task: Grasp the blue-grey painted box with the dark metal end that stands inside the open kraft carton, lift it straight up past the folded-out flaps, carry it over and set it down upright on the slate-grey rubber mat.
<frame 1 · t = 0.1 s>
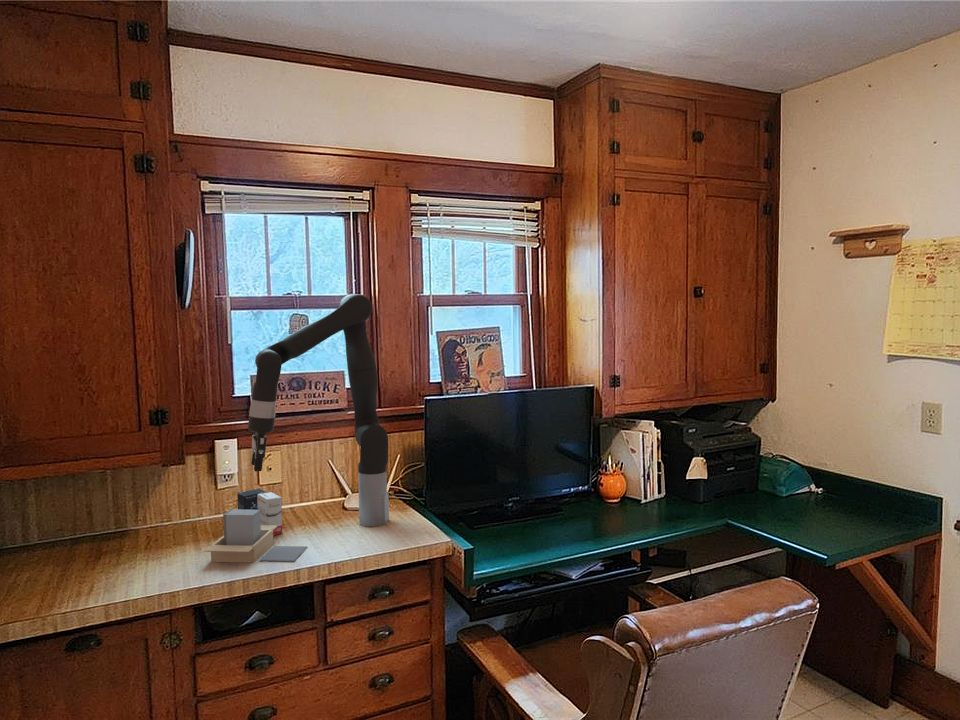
hand: (256, 467, 200), 22 cm above the worktop, tool pointing down, fingers open, 8 cm apart
carton: (243, 552, 192), on the worktop
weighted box: (242, 532, 191), in the carton
ink box: (270, 532, 210), on the worktop
mat: (284, 554, 190), on the worktop
box: (252, 523, 218), on the worktop
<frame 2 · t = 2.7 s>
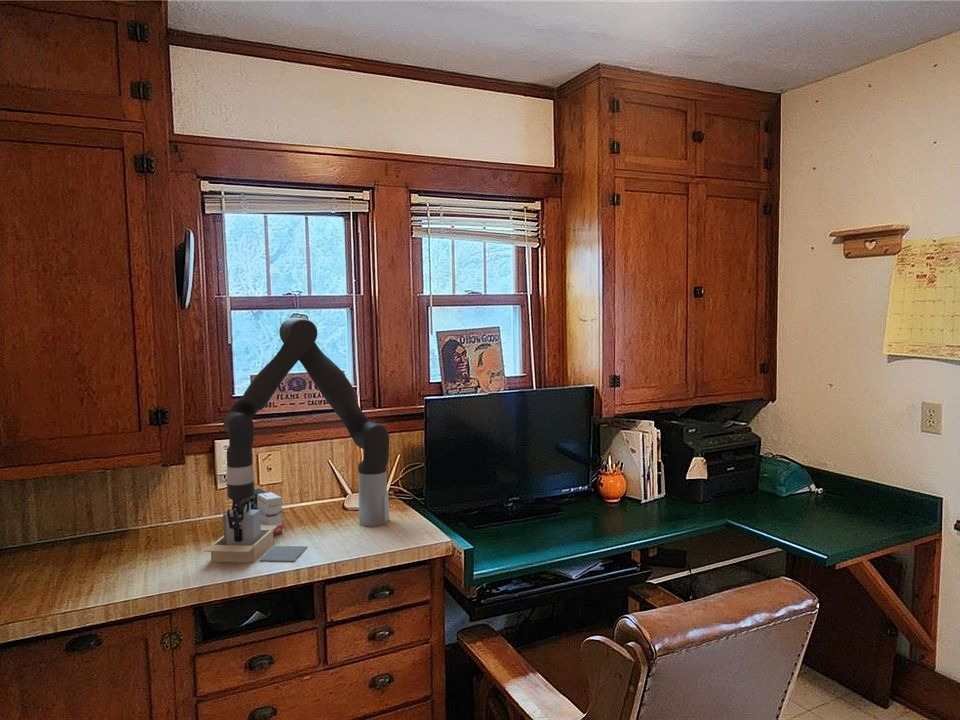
hand: (242, 537, 191), 4 cm above the worktop, tool pointing down, fingers closed on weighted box, 5 cm apart
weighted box: (242, 532, 191), in the carton, touching gripper
everything else where it was.
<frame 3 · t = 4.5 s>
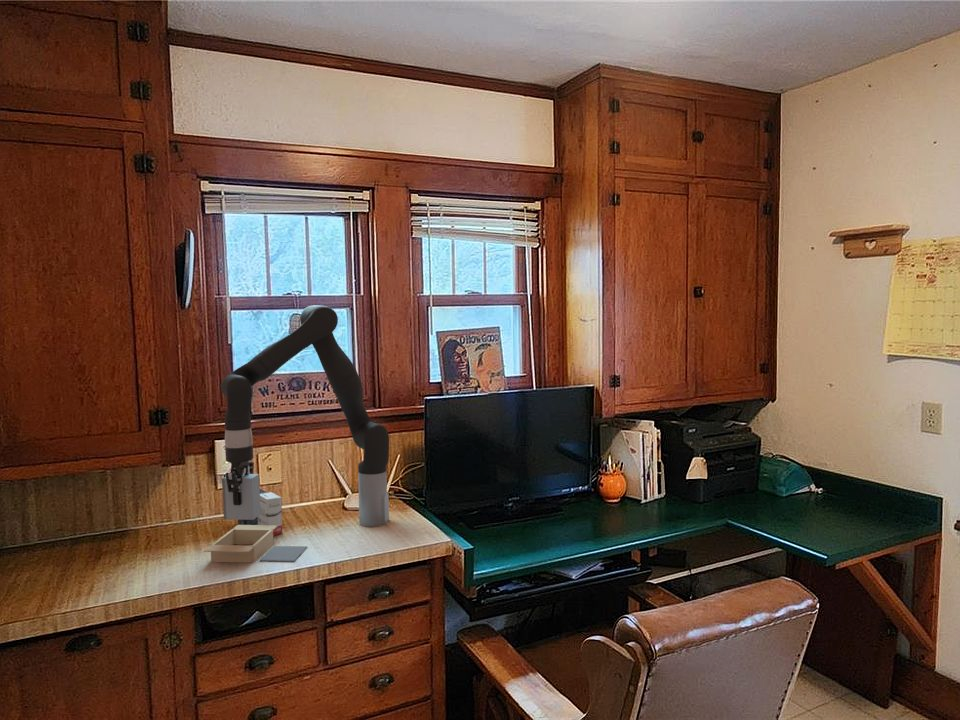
hand: (241, 501, 191), 15 cm above the worktop, tool pointing down, fingers closed on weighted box, 5 cm apart
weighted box: (241, 496, 191), point 17 cm above the worktop, touching gripper
everything else where it was.
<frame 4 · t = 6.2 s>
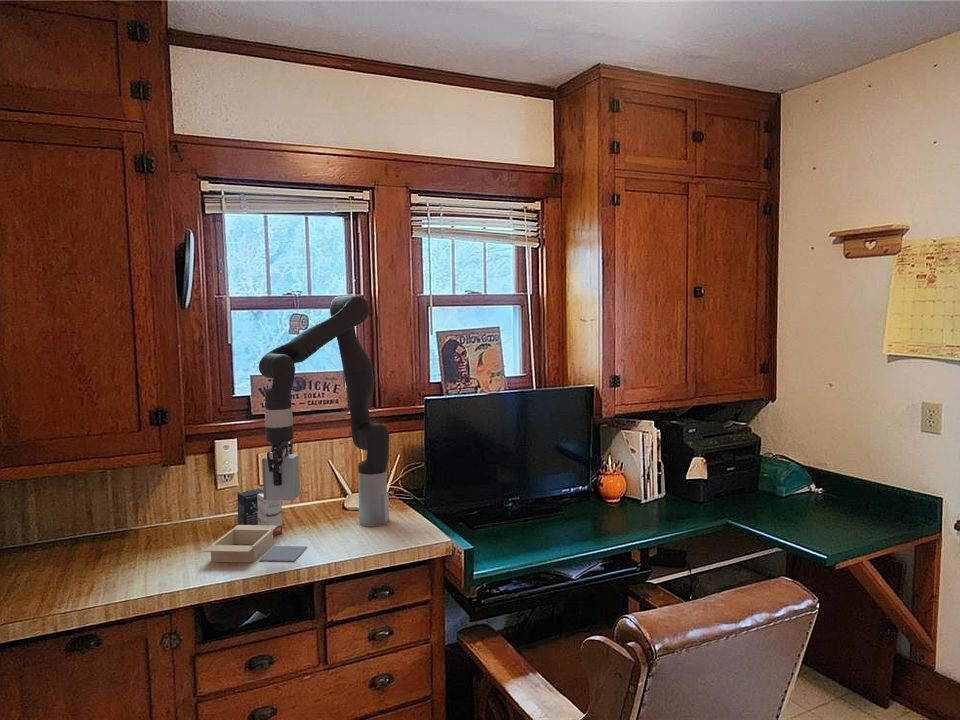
hand: (281, 482, 189), 21 cm above the worktop, tool pointing down, fingers closed on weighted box, 5 cm apart
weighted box: (281, 477, 188), point 23 cm above the worktop, touching gripper
everything else where it was.
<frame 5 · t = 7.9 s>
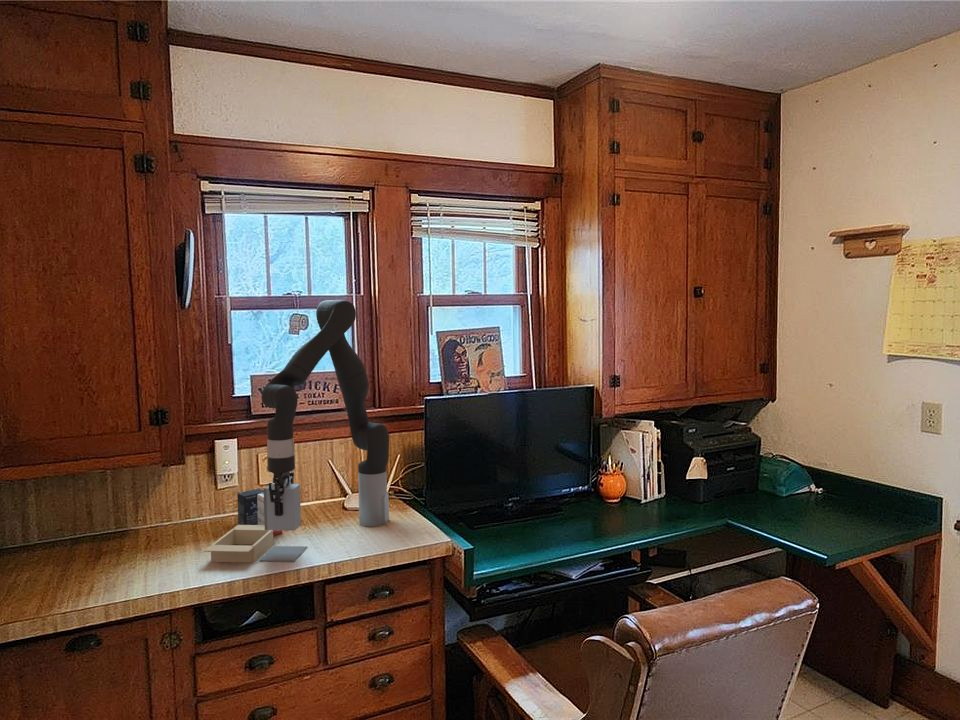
hand: (282, 512, 189), 12 cm above the worktop, tool pointing down, fingers closed on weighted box, 5 cm apart
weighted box: (282, 506, 189), point 14 cm above the worktop, touching gripper
everything else where it was.
when the fingers open (6 cm above the worktop, at t = 9.6 s): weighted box drops 1 cm, resting on mat.
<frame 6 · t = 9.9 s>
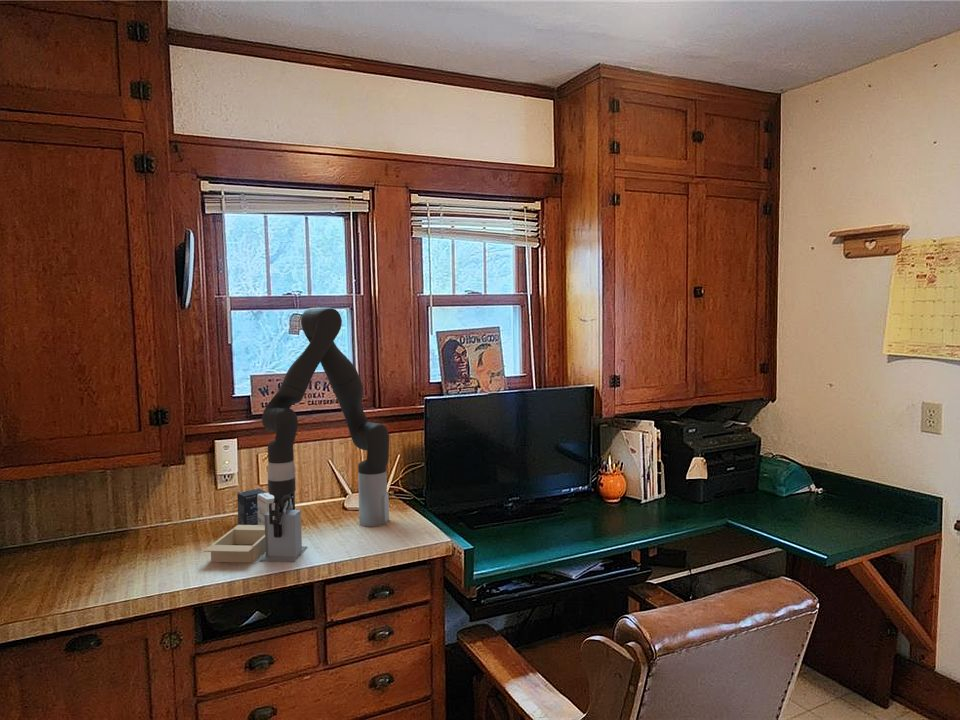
hand: (283, 532, 189), 7 cm above the worktop, tool pointing down, fingers open, 7 cm apart
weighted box: (283, 532, 189), on the mat
everything else where it was.
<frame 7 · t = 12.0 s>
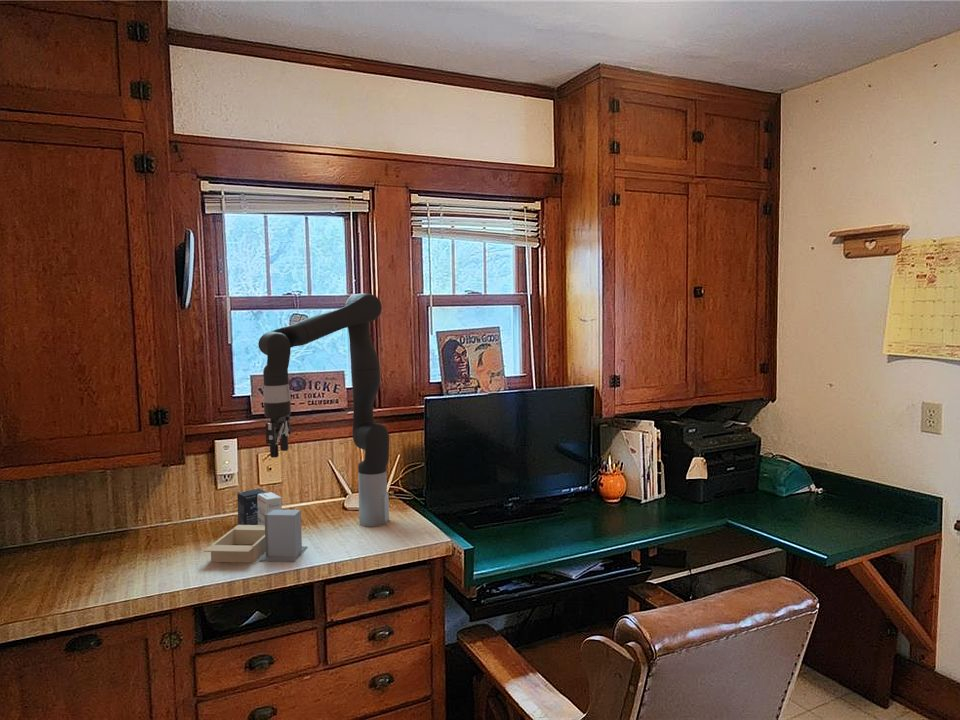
hand: (279, 453, 196), 28 cm above the worktop, tool pointing down, fingers open, 8 cm apart
nothing on the worktop moved.
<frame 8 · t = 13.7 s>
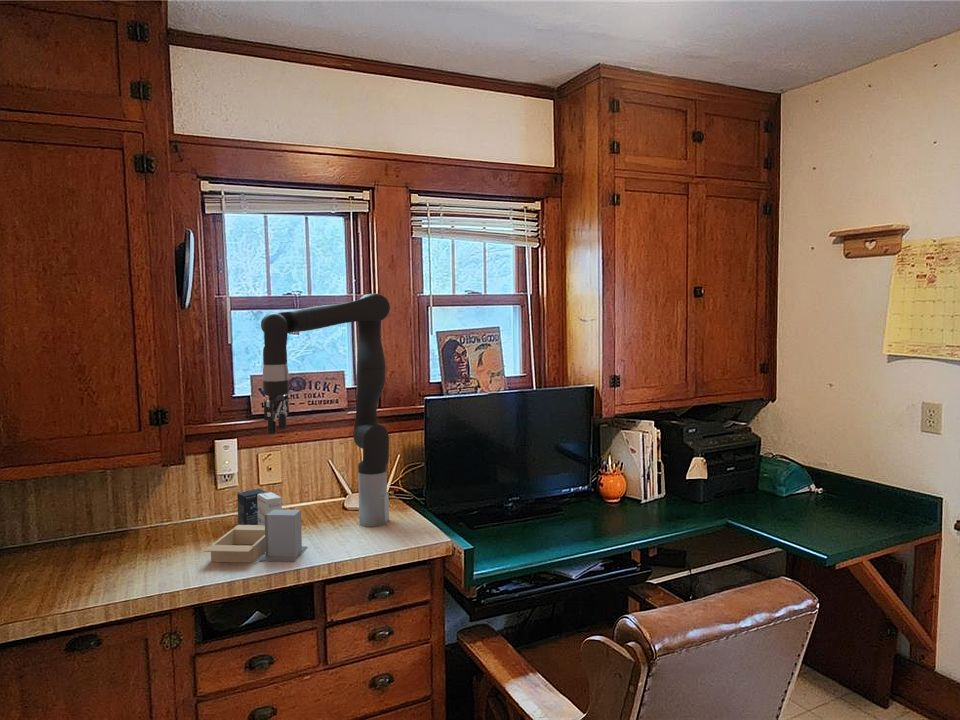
hand: (277, 431, 203), 33 cm above the worktop, tool pointing down, fingers open, 8 cm apart
nothing on the worktop moved.
at the end: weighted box inside the target area on the mat (0.0 cm from its centre), point 6.4 cm above the mat's base; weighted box tilted 0°; the gripper is holding nothing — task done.
